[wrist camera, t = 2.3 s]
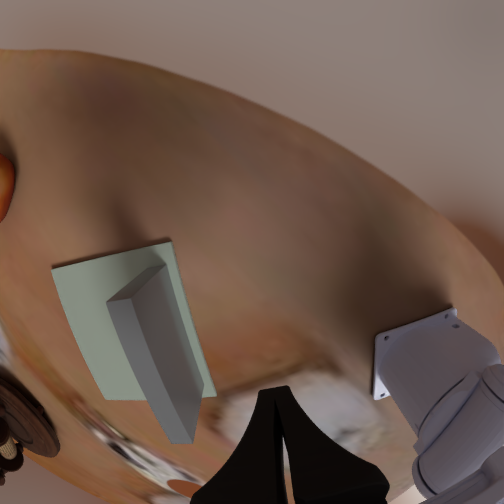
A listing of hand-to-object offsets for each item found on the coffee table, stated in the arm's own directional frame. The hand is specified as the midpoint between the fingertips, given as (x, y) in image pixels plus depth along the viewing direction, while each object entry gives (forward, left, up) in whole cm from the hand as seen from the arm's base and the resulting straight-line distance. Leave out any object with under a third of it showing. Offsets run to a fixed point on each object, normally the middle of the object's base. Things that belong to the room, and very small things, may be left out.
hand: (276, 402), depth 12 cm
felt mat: (+11, 0, -10) cm, 15 cm away
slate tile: (+7, 0, -10) cm, 12 cm away
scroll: (+37, +12, -10) cm, 40 cm away
